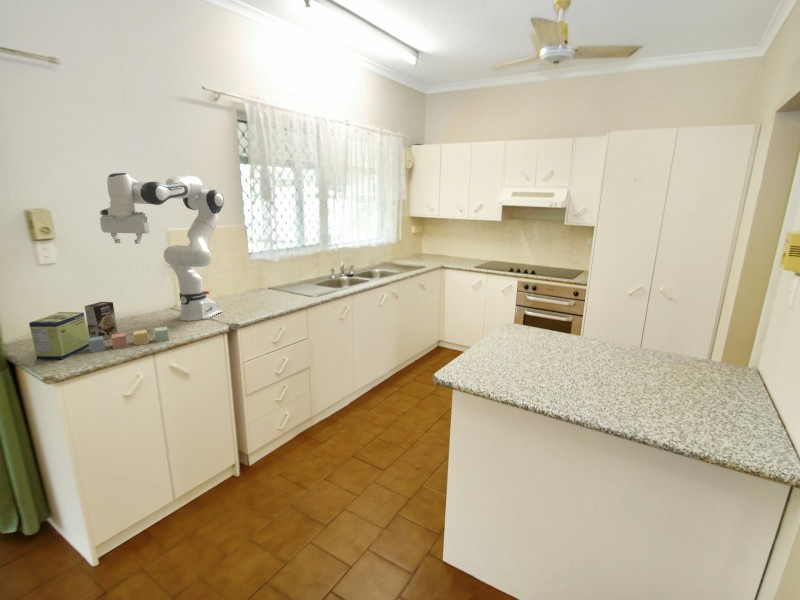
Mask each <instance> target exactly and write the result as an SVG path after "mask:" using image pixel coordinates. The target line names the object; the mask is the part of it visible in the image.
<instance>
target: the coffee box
mask: <svg viewBox="0 0 800 600" xmlns="http://www.w3.org/2000/svg"><path fill="white" fill-rule="evenodd" d="M84 311H85V316H86V317H85V320H86V323H87V324H86V326H87V332H88V338H92V337H99V336H103V340H104V339H105V340H108V339H110V337H111V335H113V334H119V333H118V332H119V331H118V327H117V326H118V325H117V320H116V313H115V307H114V302H113V301H100V302H99V301H98V302H95V303H91V304H87V305H84ZM107 338H108V339H107ZM111 338H112V337H111ZM105 340H104V341H105Z"/></svg>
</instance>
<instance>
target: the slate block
mask: <svg viewBox="0 0 800 600" xmlns="http://www.w3.org/2000/svg"><path fill="white" fill-rule="evenodd" d="M88 344H89V347H88V350H89V353H94V352H93V351H96V352H100V351H99V350H103V351H105V350H106V348H105V346H106V345H105V340H103V336H99V337H92V338H90V337H88Z"/></svg>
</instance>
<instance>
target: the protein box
mask: <svg viewBox="0 0 800 600" xmlns="http://www.w3.org/2000/svg"><path fill="white" fill-rule="evenodd" d="M86 323H87V322H86V317H85V313H84V312H80V311H79V312H69V311H68V312H67V311H59V312H56V313H54V314H50V315H48V316H44V317H42V318H39V319H36V320H33V321H30V322H29V323H28V324H29V329H30V333H31V338H32V342H33V343H32V344H33V348H34V352H35V356H36V357H35V358H36V360H61V359H63V360H65V359H67V358H69V357H70V355H71V356H73V355H74V353H75V354H77V353H78V351H79V352H81V351H83V350H85V349H87V348H89V344H88V338H89V333H88V327H87V324H86ZM76 352H77V353H76ZM72 354H73V355H72ZM68 356H69V357H68ZM66 357H67V358H66ZM64 358H65V359H64Z"/></svg>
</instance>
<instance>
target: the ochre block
mask: <svg viewBox="0 0 800 600" xmlns="http://www.w3.org/2000/svg"><path fill="white" fill-rule="evenodd" d="M132 334H133V340H134V345H135V346H139V344H140V345H144V343H146V344H149V336H148V331H147V329H143V330H134V331H133V333H132Z"/></svg>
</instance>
